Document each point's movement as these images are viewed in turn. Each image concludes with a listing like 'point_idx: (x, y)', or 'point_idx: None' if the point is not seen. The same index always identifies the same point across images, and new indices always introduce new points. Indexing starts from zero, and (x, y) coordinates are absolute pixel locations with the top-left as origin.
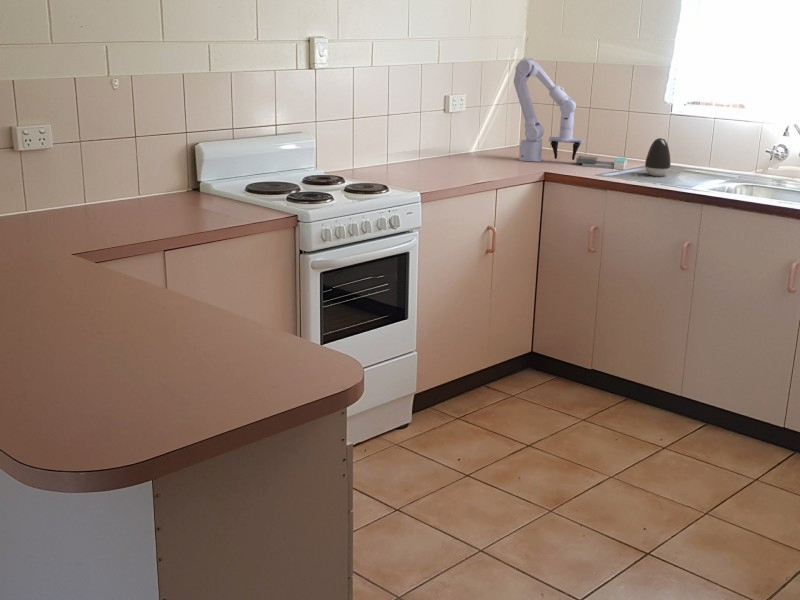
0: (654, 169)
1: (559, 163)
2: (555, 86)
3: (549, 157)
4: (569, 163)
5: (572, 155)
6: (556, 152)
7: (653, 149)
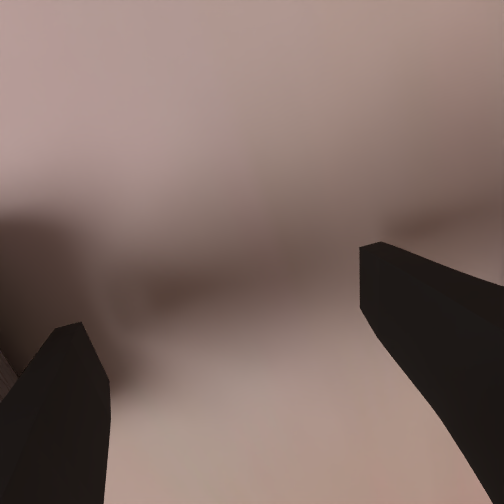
0: None
1: (268, 204)
2: None
3: (448, 446)
4: (142, 300)
5: (53, 373)
6: (425, 336)
7: None
